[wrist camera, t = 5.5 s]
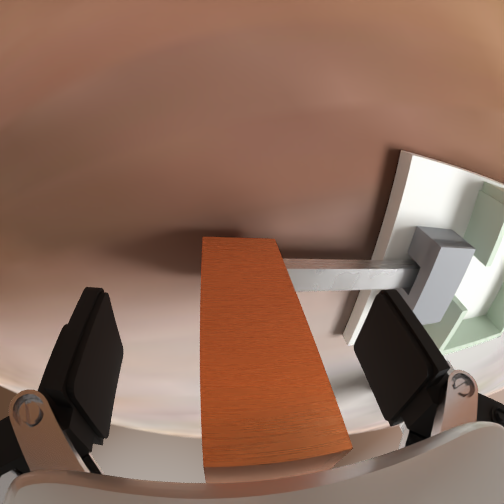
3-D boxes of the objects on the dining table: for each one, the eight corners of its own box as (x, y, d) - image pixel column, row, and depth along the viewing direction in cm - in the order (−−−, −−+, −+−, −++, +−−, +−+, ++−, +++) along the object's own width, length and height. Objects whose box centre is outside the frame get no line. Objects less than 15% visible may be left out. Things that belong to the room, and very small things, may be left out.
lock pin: (202, 236, 12) (203, 466, 4) (453, 246, 14) (551, 351, 6) (202, 294, 13) (207, 494, 6) (435, 288, 16) (515, 395, 8)
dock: (401, 149, 12) (447, 171, 9) (530, 195, 15) (559, 214, 12) (342, 334, 18) (361, 375, 15) (479, 313, 21) (499, 338, 18)
